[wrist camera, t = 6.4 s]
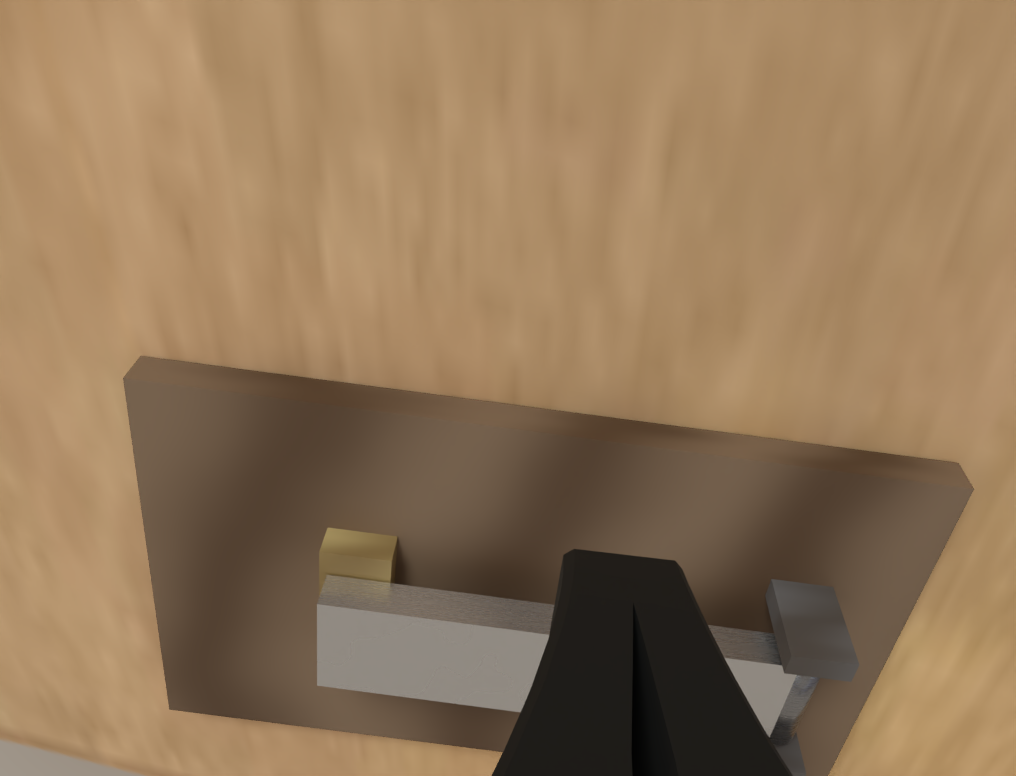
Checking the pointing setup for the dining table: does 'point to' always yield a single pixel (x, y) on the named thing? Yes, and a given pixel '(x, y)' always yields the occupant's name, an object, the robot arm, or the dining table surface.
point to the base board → (502, 535)
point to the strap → (496, 650)
